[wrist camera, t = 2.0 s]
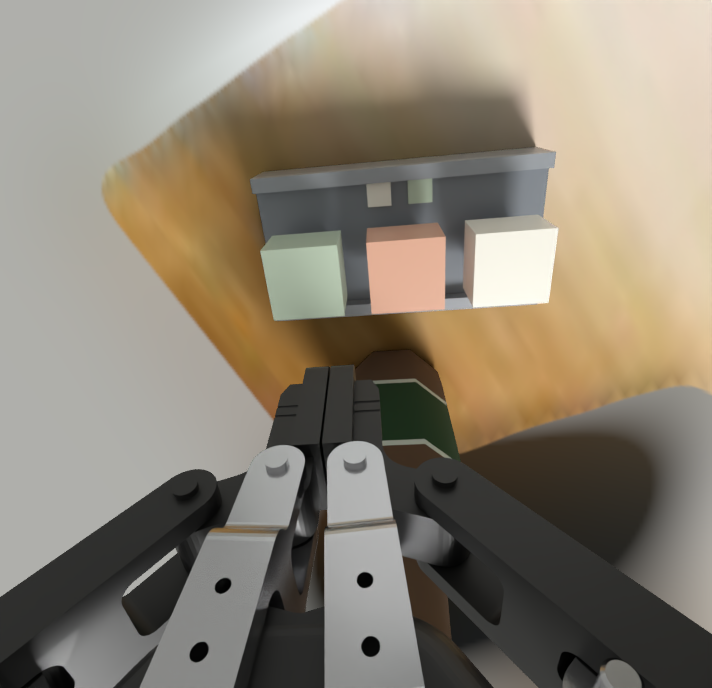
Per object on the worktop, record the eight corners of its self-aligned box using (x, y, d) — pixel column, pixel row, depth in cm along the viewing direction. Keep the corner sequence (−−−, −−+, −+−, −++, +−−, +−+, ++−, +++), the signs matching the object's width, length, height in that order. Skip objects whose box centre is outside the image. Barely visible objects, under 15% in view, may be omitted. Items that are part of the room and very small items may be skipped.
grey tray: (536, 146, 26) (568, 155, 22) (522, 285, 31) (546, 315, 26) (262, 171, 28) (241, 184, 23) (285, 301, 32) (272, 332, 28)
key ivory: (538, 214, 24) (558, 227, 21) (530, 282, 26) (548, 302, 23) (464, 220, 24) (475, 234, 22) (462, 287, 26) (472, 307, 24)
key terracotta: (438, 222, 24) (445, 236, 22) (437, 289, 26) (444, 309, 24) (366, 228, 25) (366, 242, 22) (371, 293, 27) (371, 314, 24)
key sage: (340, 230, 25) (336, 245, 22) (347, 295, 27) (344, 315, 24) (271, 235, 25) (260, 251, 22) (283, 299, 27) (273, 320, 24)
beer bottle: (419, 433, 38) (479, 851, 17) (333, 409, 37) (280, 819, 16) (457, 360, 34) (594, 776, 13) (362, 332, 33) (343, 730, 12)
